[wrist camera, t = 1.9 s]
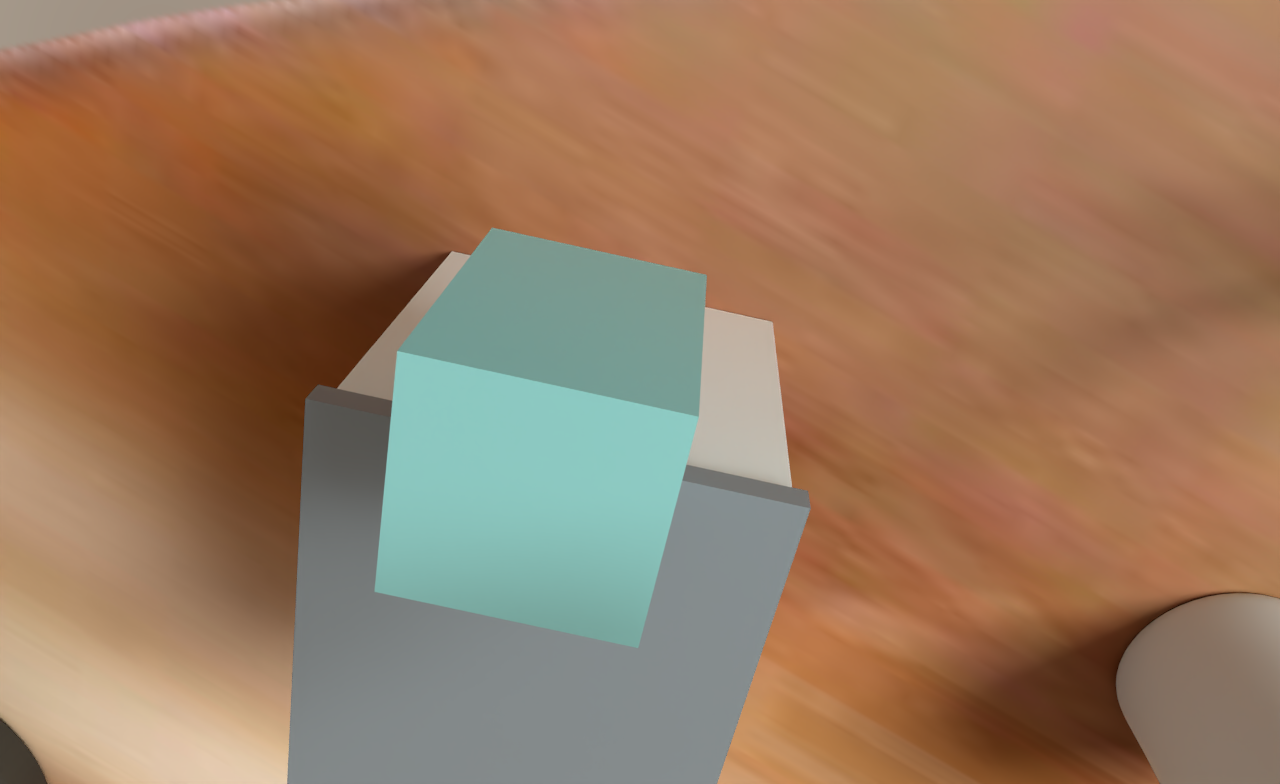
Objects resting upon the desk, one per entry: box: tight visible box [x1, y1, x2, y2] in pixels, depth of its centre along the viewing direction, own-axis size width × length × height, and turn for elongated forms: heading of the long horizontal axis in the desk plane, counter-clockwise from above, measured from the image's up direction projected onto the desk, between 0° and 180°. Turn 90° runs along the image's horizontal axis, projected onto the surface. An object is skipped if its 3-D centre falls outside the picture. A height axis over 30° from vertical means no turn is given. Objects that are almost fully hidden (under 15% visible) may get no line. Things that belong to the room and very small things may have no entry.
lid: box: [287, 228, 810, 784], centre depth 24 cm, size 13×21×8 cm, turn 169°
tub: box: [337, 251, 792, 487], centre depth 33 cm, size 12×15×12 cm
